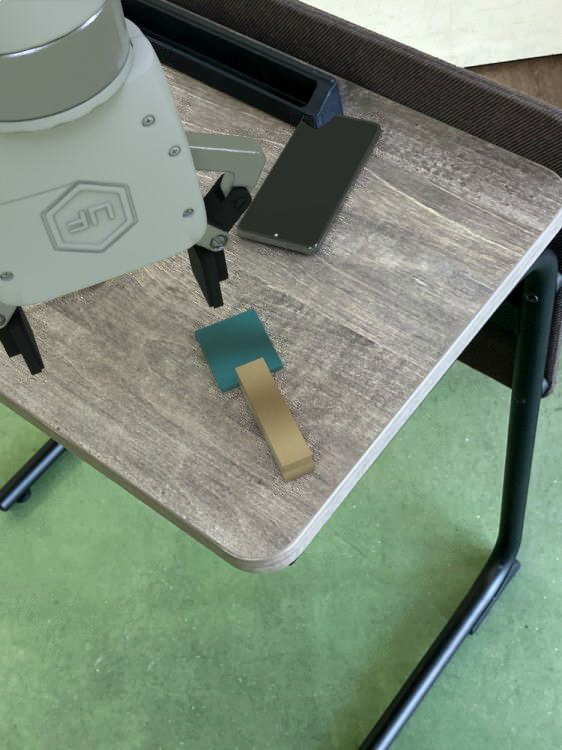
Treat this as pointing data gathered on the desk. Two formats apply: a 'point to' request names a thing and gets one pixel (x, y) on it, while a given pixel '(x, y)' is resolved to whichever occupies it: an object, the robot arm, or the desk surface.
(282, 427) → the spatula
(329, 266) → the desk surface
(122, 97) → the robot arm
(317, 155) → the smartphone
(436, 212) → the desk surface
